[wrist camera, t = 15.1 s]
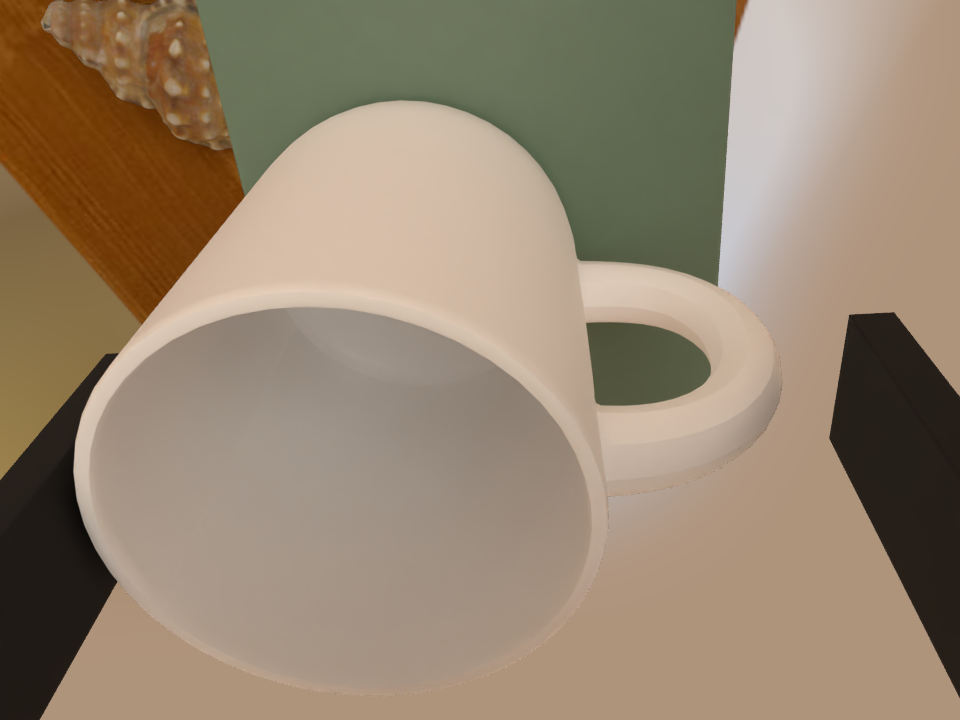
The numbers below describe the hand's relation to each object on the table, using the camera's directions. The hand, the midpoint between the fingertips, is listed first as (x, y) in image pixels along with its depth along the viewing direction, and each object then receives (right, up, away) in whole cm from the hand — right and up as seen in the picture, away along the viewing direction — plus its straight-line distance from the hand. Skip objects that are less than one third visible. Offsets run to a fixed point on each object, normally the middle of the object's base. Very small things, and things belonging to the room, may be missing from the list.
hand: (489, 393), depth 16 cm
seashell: (-17, +18, +33) cm, 42 cm away
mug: (0, +4, +6) cm, 7 cm away
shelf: (+1, +19, +31) cm, 37 cm away
